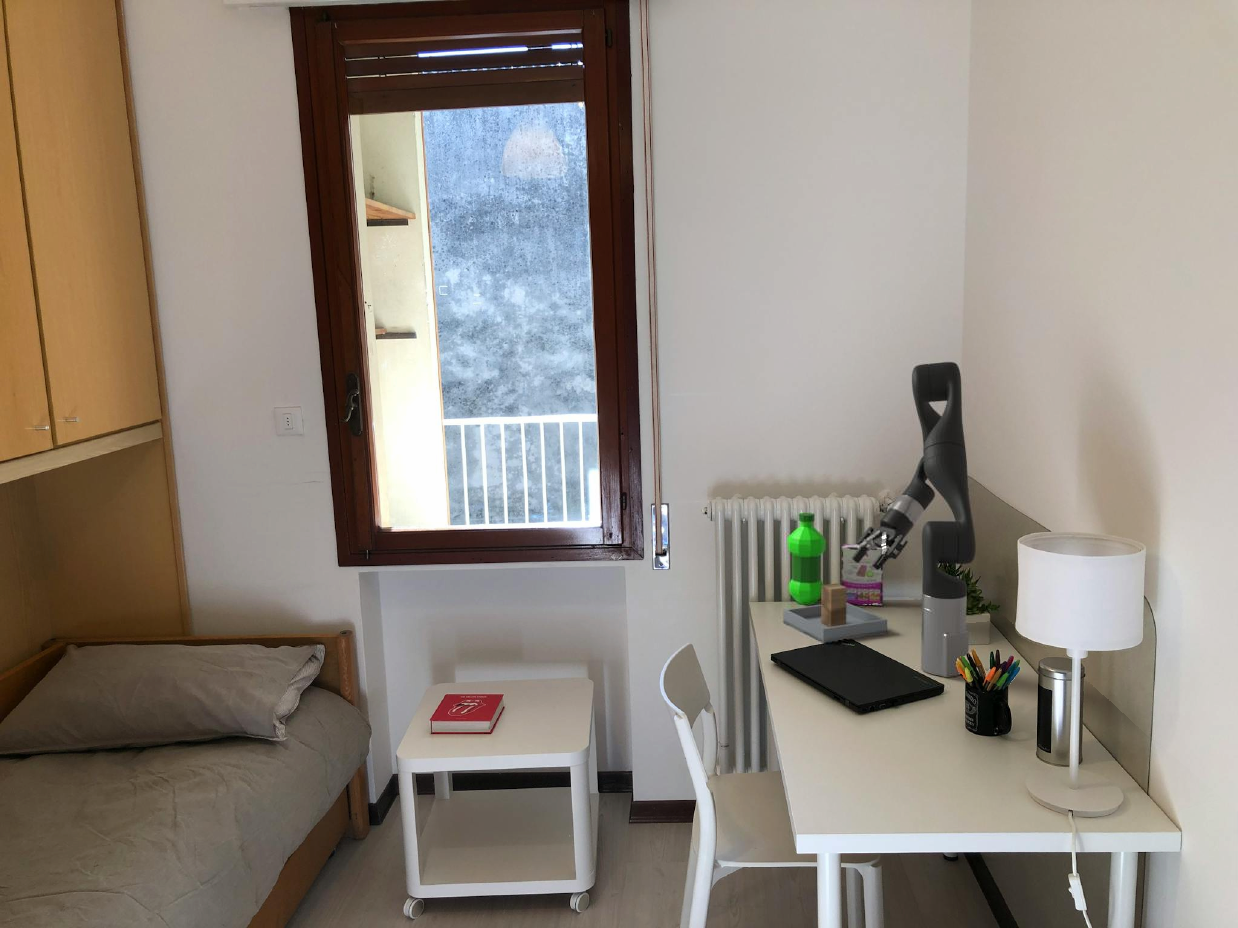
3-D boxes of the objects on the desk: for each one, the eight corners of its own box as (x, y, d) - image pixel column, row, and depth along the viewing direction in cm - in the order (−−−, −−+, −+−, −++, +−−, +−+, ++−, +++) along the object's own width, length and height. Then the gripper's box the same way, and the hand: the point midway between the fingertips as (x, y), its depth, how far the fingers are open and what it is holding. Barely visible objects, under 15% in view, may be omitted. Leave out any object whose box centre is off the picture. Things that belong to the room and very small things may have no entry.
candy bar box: (883, 602, 262) (884, 544, 260) (882, 606, 258) (883, 548, 255) (842, 599, 266) (842, 542, 264) (841, 604, 261) (841, 546, 259)
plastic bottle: (792, 607, 259) (792, 518, 256) (785, 597, 270) (785, 511, 266) (828, 606, 259) (829, 517, 256) (819, 596, 270) (820, 510, 267)
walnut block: (846, 625, 238) (846, 587, 237) (830, 628, 237) (831, 589, 236) (836, 621, 243) (836, 583, 241) (821, 623, 241) (821, 585, 240)
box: (887, 633, 234) (887, 619, 234) (823, 643, 228) (823, 629, 227) (843, 614, 252) (843, 601, 251) (783, 622, 245) (783, 609, 244)
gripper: (876, 503, 249) (839, 549, 246) (911, 511, 236) (873, 560, 233) (892, 521, 252) (856, 567, 249) (928, 530, 238) (890, 579, 236)
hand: (864, 564), depth 241 cm, fingers open, 8 cm apart
